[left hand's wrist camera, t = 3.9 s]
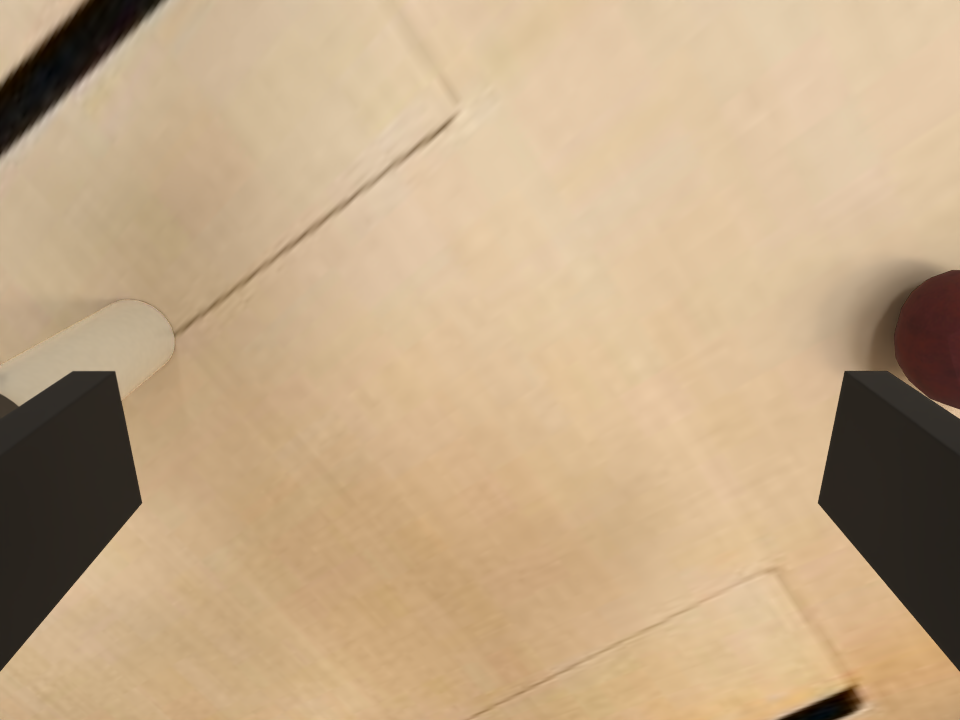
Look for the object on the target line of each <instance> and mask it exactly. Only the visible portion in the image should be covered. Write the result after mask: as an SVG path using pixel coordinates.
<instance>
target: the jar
mask: <svg viewBox="0 0 960 720" xmlns="http://www.w3.org/2000/svg"><path fill="white" fill-rule="evenodd" d="M174 347H175V338H174V333H173V330H172V327H171V325H170V323H169V322H168V320H167V319H166V318H165V316H164V315H163V314H162V313H161V312H160V311H159V310H157V309H156V308H155V307H153V306H151V305H149V304H147V303H145V302H142V301H138V300H132V299H125V300H119V301H116V302H113V303H111V304H109V305H108V306H106V307H104V308H102V309H100V310H98V311H97V312H95V313H93V314H91V315H89V316H87V317H86V318H84V319H82V320H80V321H78V322H76V323H75V324H73V325H71V326H69V327H67V328H66V329H64V330H62V331H60V332H58V333H56V334H55V335H53V336H51V337H49V338H47V339H45V340H44V341H42V342H40V343H38V344H36V345H34V346H33V347H31V348H29V349H27V350H25V351H23V352H22V353H20V354H18V355H16V356H14V357H13V358H11V359H9V360H7V361H5V362H3V363H2V364H0V394H2V395H4V396H5V397H7V398H8V399H10V400H11V401H13V402H14V403H15V404H17V405H18V406H21V405H22V404H24V403H25V402H27V401H28V400H30V399H31V398H33V397H34V396H36V395H37V394H39V393H40V392H42V391H43V390H45V389H46V388H48V387H49V386H51V385H52V384H54V383H55V382H57V381H58V380H60V379H61V378H63V377H64V376H66V375H68V374H69V373H71V372H72V371H115V372H116V377H117V382H118V387H119V392H120V396H121V401H122V400H124V399H125V398H126V397H127V396H128V395H130V394H131V393H132V392H133V391H134V390H136V389H137V388H138V387H139V386H140V385H142V384H143V383H144V382H145V381H146V380H148V379H149V378H150V377H151V376H152V375H154V374H155V373H156V372H157V371H158V370H160V369H161V368H162V367H163V366H164V365H165V364H166V363H167V362H168V361H169V360H170V358H171V356H172V354H173V352H174Z"/></svg>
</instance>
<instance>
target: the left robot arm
mask: <svg viewBox="0 0 960 720" xmlns="http://www.w3.org/2000/svg"><path fill="white" fill-rule="evenodd" d="M141 504H142V500H141V495H140V490H139V485H138V480H137V475H136V471H135V466H134V461H133V456H132V451H131V446H130V441H129V436H128V431H127V426H126V421H125V416H124V411H123V406H122V401H121V396H120V392H119V387H118V382H117V377H116V372H115V371H72V372H71V373H69V374H68V375H66V376H64V377H63V378H61V379H60V380H58V381H57V382H55V383H54V384H52V385H51V386H49V387H48V388H46V389H45V390H43V391H42V392H40V393H39V394H37V395H36V396H34V397H33V398H31V399H30V400H28V401H27V402H25V403H24V404H22V405H21V406H19V407H18V408H16V409H15V410H13V411H12V412H10V413H9V414H7V415H6V416H4V417H2V418H1V419H0V671H1V670H2V669H3V668H4V666H5V665H6V664H7V663H8V662H9V660H10V659H11V658H12V657H13V656H14V655H15V653H16V652H17V651H18V650H19V649H20V647H21V646H22V645H23V644H24V643H25V641H26V640H27V639H28V638H29V637H30V636H31V634H32V633H33V632H34V631H35V630H36V628H37V627H38V626H39V625H40V624H41V622H42V621H43V620H44V619H45V618H46V617H47V615H48V614H49V613H50V612H51V611H52V609H53V608H54V607H55V606H56V605H57V603H58V602H59V601H60V600H61V599H62V598H63V596H64V595H65V594H66V593H67V592H68V590H69V589H70V588H71V587H72V586H73V584H74V583H75V582H76V581H77V580H78V579H79V577H80V576H81V575H82V574H83V573H84V571H85V570H86V569H87V568H88V567H89V565H90V564H91V563H92V562H93V561H94V560H95V558H96V557H97V556H98V555H99V554H100V552H101V551H102V550H103V549H104V548H105V546H106V545H107V544H108V543H109V542H110V541H111V539H112V538H113V537H114V536H115V535H116V533H117V532H118V531H119V530H120V529H121V527H122V526H123V525H124V524H125V523H126V522H127V520H128V519H129V518H130V517H131V516H132V514H133V513H134V512H135V511H136V510H137V508H138V507H139V506H140V505H141ZM818 504H819V505H820V506H821V507H822V508H823V510H824V511H825V512H826V513H827V514H828V516H829V517H830V518H831V519H832V520H833V522H834V523H835V524H836V525H837V526H838V527H839V529H840V530H841V531H842V532H843V533H844V535H845V536H846V537H847V538H848V539H849V541H850V542H851V543H852V544H853V545H854V546H855V548H856V549H857V550H858V551H859V552H860V554H861V555H862V556H863V557H864V558H865V560H866V561H867V562H868V563H869V564H870V565H871V567H872V568H873V569H874V570H875V571H876V573H877V574H878V575H879V576H880V577H881V579H882V580H883V581H884V582H885V583H886V584H887V586H888V587H889V588H890V589H891V590H892V592H893V593H894V594H895V595H896V596H897V598H898V599H899V600H900V601H901V602H902V603H903V605H904V606H905V607H906V608H907V609H908V611H909V612H910V613H911V614H912V615H913V617H914V618H915V619H916V620H917V621H918V622H919V624H920V625H921V626H922V627H923V628H924V630H925V631H926V632H927V633H928V634H929V636H930V637H931V638H932V639H933V640H934V641H935V643H936V644H937V645H938V646H939V647H940V649H941V650H942V651H943V652H944V653H945V655H946V656H947V657H948V658H949V659H950V660H951V662H952V663H953V664H954V665H955V666H956V668H957V669H958V670H959V671H960V419H959V418H958V417H956V416H954V415H953V414H951V413H950V412H948V411H947V410H945V409H944V408H942V407H941V406H939V405H938V404H936V403H935V402H933V401H932V400H930V399H929V398H927V397H926V396H924V395H923V394H921V393H920V392H918V391H917V390H915V389H914V388H912V387H911V386H909V385H908V384H906V383H905V382H903V381H902V380H900V379H899V378H897V377H896V376H894V375H892V374H891V373H889V372H888V371H845V372H844V377H843V382H842V387H841V392H840V396H839V401H838V406H837V411H836V416H835V421H834V426H833V431H832V436H831V441H830V446H829V451H828V456H827V461H826V466H825V470H824V475H823V480H822V485H821V490H820V495H819V500H818Z"/></svg>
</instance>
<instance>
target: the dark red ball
mask: <svg viewBox="0 0 960 720" xmlns="http://www.w3.org/2000/svg"><path fill="white" fill-rule="evenodd" d="M894 342H895V355H896V359H897V361H898V363H899V366H900V367H901V369H902V370H903V372H904V373H905V375H906V377H907V378H908V380H909V381H910V382H911V383H912V384H914V385H915V386H916V387H917V388H918V389H919V390H920V391H922V392H923V393H924V394H925V395H926V396H928V397H929V398H930V399H932V400H935V401H938V402H940V403H943V404H946V405H949V406H952V407H954V408H957V409H960V270H951V271H948V272H946V273H943V274H940V275H937V276H934V277H932V278H929V279H928V280H926V281H925V282H924V283H922V284H921V285H920V286H919V287H917V288H916V289H915V290H914V291H913V292H912V293H911V294H910V296H909V297H908V299H907V300H906V302H905V303H904V305H903V306H902V309H901V312H900V316H899V319H898V323H897V326H896V330H895V334H894Z"/></svg>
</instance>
